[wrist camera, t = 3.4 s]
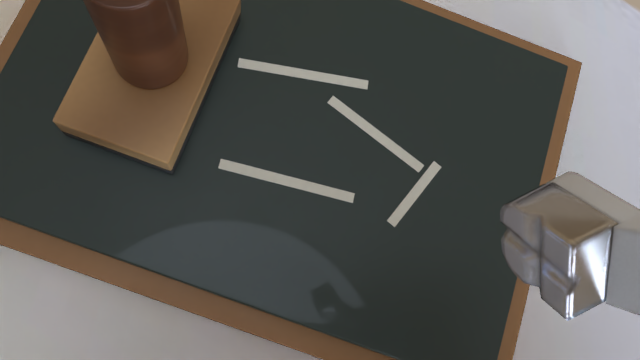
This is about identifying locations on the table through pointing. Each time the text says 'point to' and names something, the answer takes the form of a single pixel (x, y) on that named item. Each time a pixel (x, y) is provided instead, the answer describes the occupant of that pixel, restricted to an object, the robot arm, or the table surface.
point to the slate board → (304, 176)
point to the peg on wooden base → (147, 76)
